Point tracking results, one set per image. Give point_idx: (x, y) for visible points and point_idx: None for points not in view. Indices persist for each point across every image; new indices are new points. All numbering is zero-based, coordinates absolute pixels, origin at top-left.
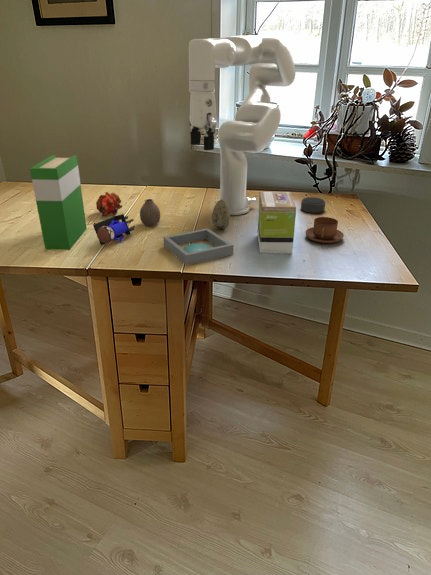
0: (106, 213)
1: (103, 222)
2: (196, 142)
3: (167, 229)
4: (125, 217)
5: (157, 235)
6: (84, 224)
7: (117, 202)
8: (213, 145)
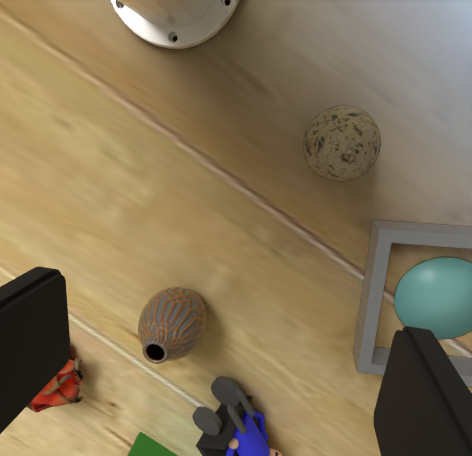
0: (82, 381)
1: None
2: (54, 324)
3: (242, 285)
4: (219, 427)
5: (270, 329)
6: (143, 451)
7: None
8: (444, 360)
